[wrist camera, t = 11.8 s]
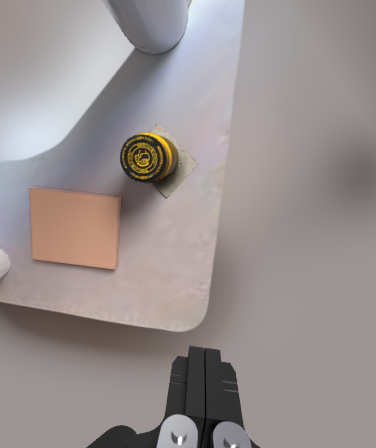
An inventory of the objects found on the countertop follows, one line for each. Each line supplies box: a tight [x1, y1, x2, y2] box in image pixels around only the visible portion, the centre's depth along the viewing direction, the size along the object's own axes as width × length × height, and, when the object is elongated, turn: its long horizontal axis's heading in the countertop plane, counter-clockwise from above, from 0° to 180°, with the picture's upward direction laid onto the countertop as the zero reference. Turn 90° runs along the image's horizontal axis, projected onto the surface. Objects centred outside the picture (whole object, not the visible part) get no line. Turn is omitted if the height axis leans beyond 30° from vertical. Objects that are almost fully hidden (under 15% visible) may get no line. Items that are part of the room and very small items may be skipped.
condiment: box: [120, 124, 198, 198], centre depth 35 cm, size 7×8×12 cm
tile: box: [29, 187, 121, 269], centre depth 44 cm, size 2×12×14 cm
